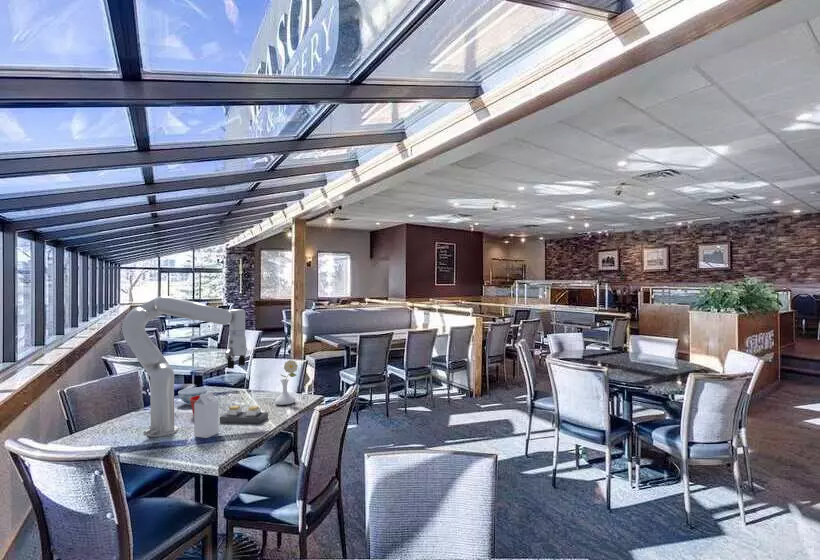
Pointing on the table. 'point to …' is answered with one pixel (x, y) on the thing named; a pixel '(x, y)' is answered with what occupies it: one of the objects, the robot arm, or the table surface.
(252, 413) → the grey and tan block
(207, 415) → the milk carton
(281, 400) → the flower in vase
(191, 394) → the chinaware
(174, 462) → the table surface
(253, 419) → the dark grey slotted board
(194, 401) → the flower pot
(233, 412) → the tan topped grey block
